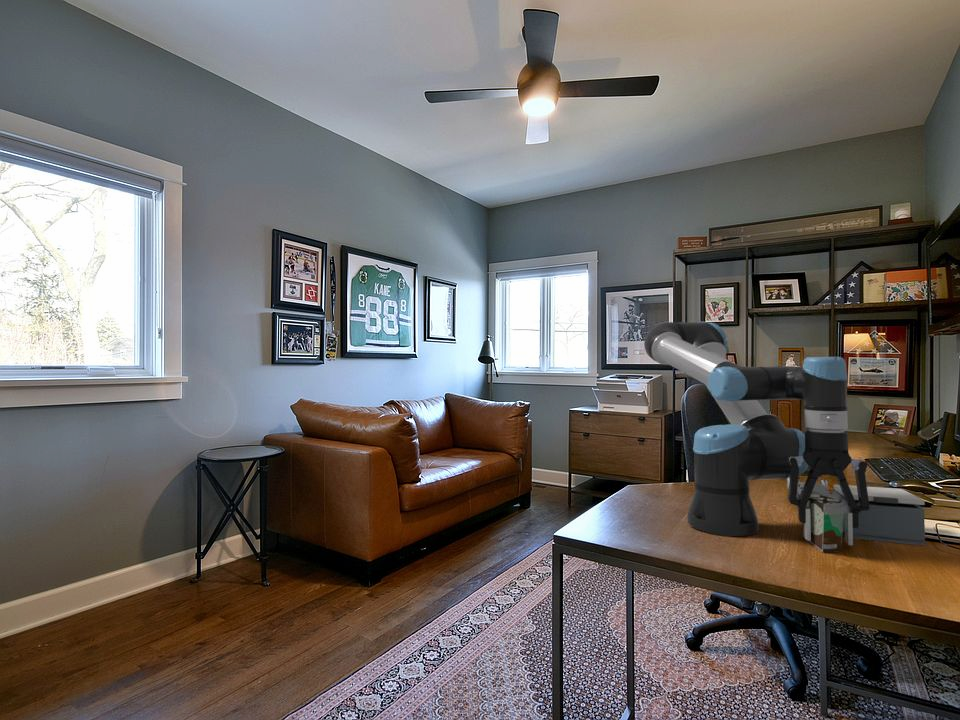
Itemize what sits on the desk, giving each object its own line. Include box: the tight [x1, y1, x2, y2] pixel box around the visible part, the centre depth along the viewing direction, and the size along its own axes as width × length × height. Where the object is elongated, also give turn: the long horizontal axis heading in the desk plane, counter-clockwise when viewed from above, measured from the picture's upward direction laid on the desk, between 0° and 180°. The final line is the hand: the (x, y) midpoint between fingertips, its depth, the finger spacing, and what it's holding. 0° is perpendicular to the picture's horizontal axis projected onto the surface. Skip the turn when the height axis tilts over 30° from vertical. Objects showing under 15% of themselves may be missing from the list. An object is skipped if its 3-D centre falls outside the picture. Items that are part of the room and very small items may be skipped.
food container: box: [800, 490, 848, 554], centre depth 107 cm, size 12×6×10 cm, turn 168°
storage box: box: [833, 488, 926, 546], centre depth 115 cm, size 13×14×8 cm
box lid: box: [833, 483, 926, 506], centre depth 115 cm, size 13×15×1 cm
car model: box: [786, 478, 834, 499], centre depth 146 cm, size 11×24×5 cm, turn 153°
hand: (828, 540), depth 107 cm, fingers closed on food container, 7 cm apart
